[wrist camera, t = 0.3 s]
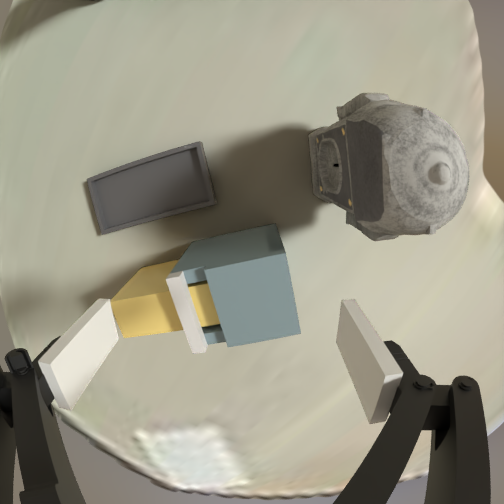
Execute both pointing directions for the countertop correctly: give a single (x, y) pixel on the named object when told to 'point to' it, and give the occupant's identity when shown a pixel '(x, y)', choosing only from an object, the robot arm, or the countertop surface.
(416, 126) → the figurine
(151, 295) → the yellow tall slab
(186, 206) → the tray
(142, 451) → the countertop surface
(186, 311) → the dispenser
